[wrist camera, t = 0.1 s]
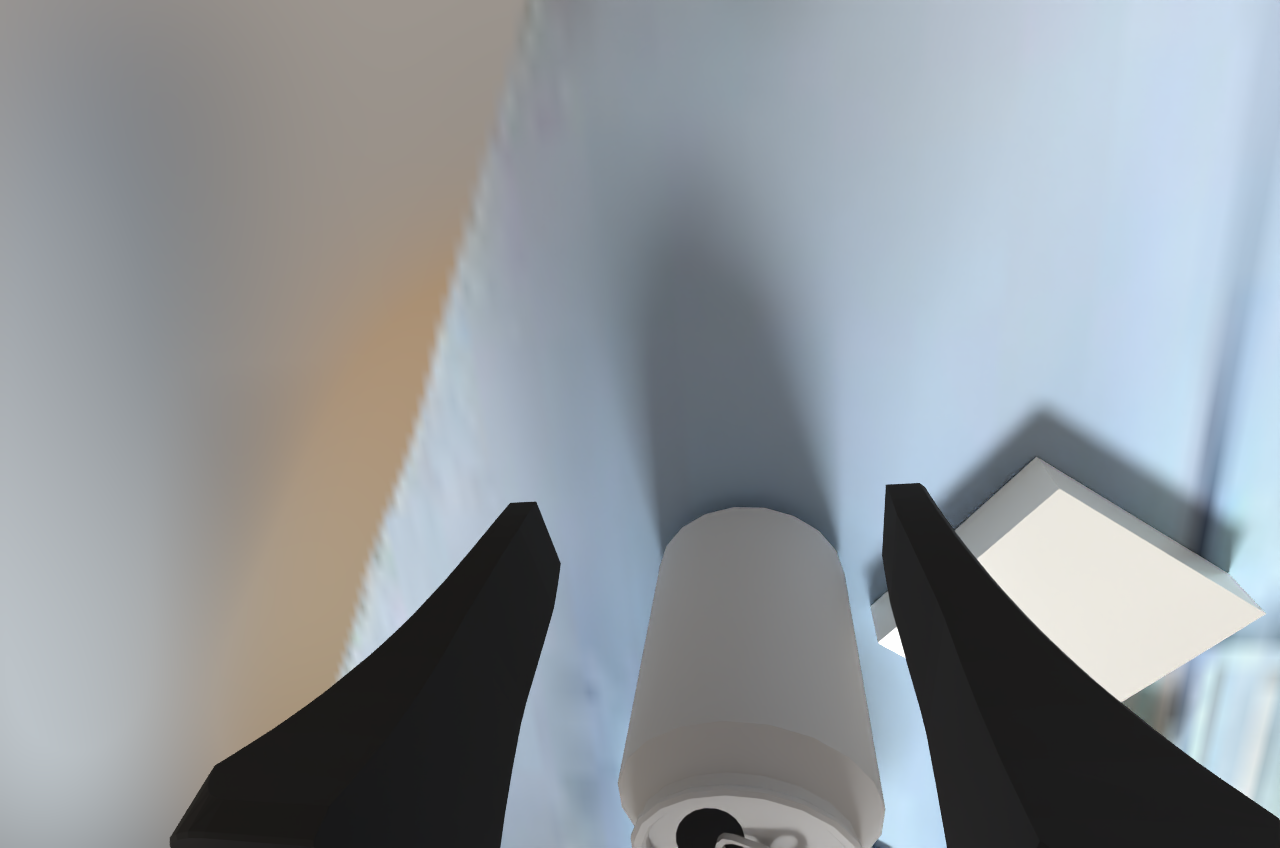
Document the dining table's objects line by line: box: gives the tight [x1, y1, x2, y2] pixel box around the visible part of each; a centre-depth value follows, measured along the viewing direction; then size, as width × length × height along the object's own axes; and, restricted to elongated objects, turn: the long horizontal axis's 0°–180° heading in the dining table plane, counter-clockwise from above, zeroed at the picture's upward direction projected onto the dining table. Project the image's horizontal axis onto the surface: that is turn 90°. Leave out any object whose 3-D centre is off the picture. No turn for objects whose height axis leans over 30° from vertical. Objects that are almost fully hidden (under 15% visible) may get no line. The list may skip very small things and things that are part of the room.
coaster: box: [870, 457, 1266, 702], centre depth 25 cm, size 9×9×2 cm
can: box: [618, 507, 885, 848], centre depth 22 cm, size 8×8×12 cm
